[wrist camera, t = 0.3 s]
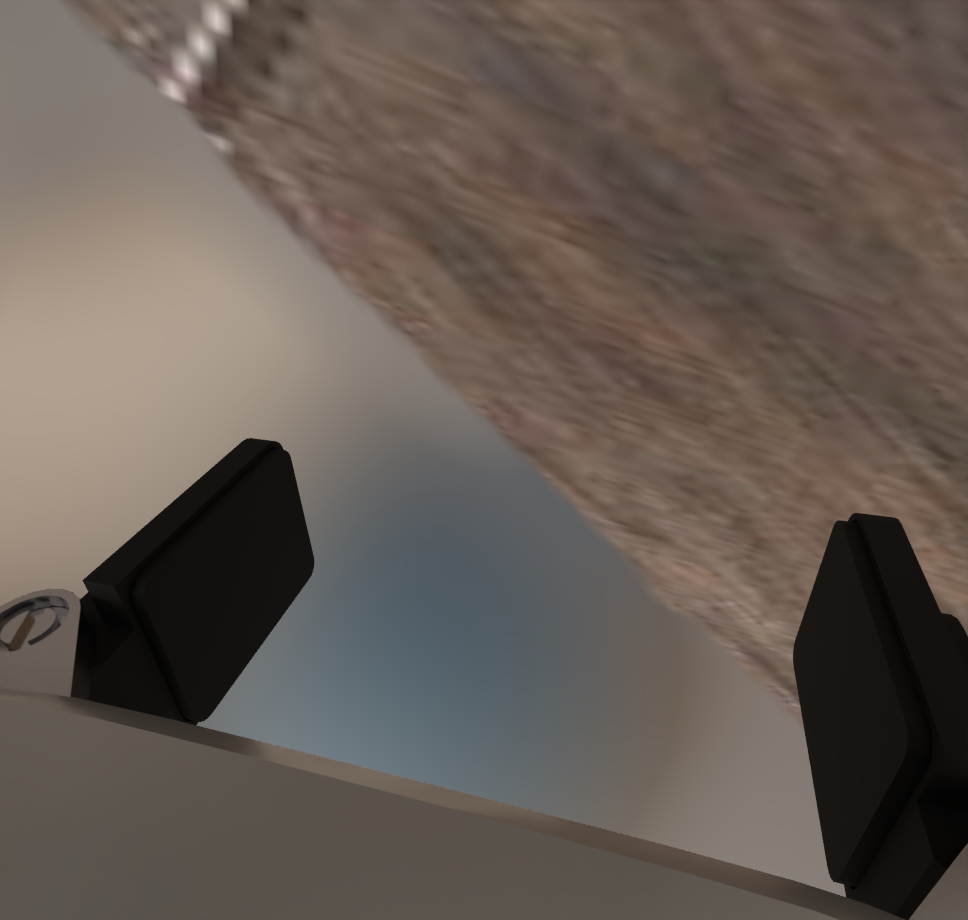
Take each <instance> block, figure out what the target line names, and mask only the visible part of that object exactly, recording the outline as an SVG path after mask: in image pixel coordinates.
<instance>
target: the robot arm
mask: <svg viewBox="0 0 968 920" xmlns="http://www.w3.org/2000/svg"><path fill="white" fill-rule="evenodd" d="M313 568H314V556H313V552H312V547H311V543H310V539H309V535H308V530H307V526H306V522H305V517H304V513H303V509H302V504H301V500H300V496H299V492H298V487H297V482H296V478H295V474H294V469H293V465H292V461H291V457H290V455H289V453H288V452H287V451H285V450H283V447H282V446H281V444H280V443H278V442H276V441H269V440H261V439H253V438H249V439H246V440H244V441H242V442H241V443H240V444H239V445H238V446H237V447H236V448H234V449H233V450H232V451H231V452H230V453H228V454H227V455H226V456H225V457H224V458H223V459H222V460H221V461H219V462H218V463H217V464H216V465H215V466H214V467H212V468H211V469H210V470H209V471H208V472H207V473H205V475H203V476H202V477H201V478H200V479H199V480H197V481H196V482H195V483H194V484H193V485H192V486H191V487H189V488H188V489H187V490H186V491H185V492H184V493H182V494H181V495H180V496H179V497H178V498H177V499H176V500H174V501H173V502H172V503H171V504H170V505H169V506H168V507H167V508H165V509H164V510H163V511H162V512H161V513H160V514H158V515H157V516H156V517H155V518H154V519H153V520H152V521H150V522H149V523H148V524H147V525H146V526H145V527H144V528H142V529H141V530H140V531H139V532H138V533H136V534H135V535H134V536H133V537H132V538H131V539H130V540H129V541H127V542H126V543H125V544H124V545H123V546H122V547H121V548H119V549H118V550H117V551H116V552H115V553H114V554H112V555H111V556H110V557H109V558H108V559H107V560H105V561H104V562H103V563H102V564H101V565H100V566H99V567H98V568H96V569H95V570H94V571H93V572H92V573H91V574H89V575H88V576H87V577H86V578H85V579H84V580H83V582H84V584H85V586H86V588H87V590H88V593H87V594H86V595H85V596H84V597H83V598H81V599H79V598H78V597H77V596H76V595H75V594H74V593H73V592H71V591H68V590H64V589H46V590H41V591H36V592H32V593H29V594H26V595H23V596H20V597H18V598H15V599H14V600H12V601H10V602H8V603H6V604H4V605H2V606H0V920H968V636H967V634H966V632H965V630H964V628H963V626H962V625H961V623H960V622H959V620H958V619H957V618H955V617H954V616H952V615H950V614H943V613H941V612H940V609H939V607H938V605H937V603H936V600H935V598H934V596H933V594H932V592H931V589H930V587H929V585H928V583H927V580H926V578H925V576H924V574H923V571H922V569H921V567H920V565H919V562H918V560H917V558H916V556H915V553H914V551H913V549H912V547H911V544H910V542H909V540H908V538H907V536H906V533H905V531H904V529H903V527H902V524H901V523H900V521H899V520H898V519H896V518H893V517H885V516H877V515H868V514H860V513H854V514H852V515H851V517H850V518H849V520H848V521H840V520H839V521H837V522H836V523H835V525H834V527H833V530H832V533H831V536H830V539H829V542H828V545H827V548H826V551H825V554H824V557H823V560H822V563H821V565H820V568H819V571H818V574H817V577H816V580H815V583H814V586H813V589H812V592H811V595H810V598H809V601H808V604H807V607H806V610H805V613H804V616H803V619H802V622H801V625H800V628H799V631H798V634H797V637H796V640H795V644H794V650H793V664H794V671H795V677H796V682H797V688H798V694H799V700H800V706H801V712H802V718H803V724H804V730H805V736H806V742H807V747H808V754H809V760H810V765H811V771H812V777H813V784H814V789H815V796H816V801H817V807H818V813H819V819H820V825H821V831H822V837H823V843H824V849H825V855H826V861H827V866H828V871H829V874H830V877H831V879H832V880H833V882H837V883H842V884H844V887H845V892H846V897H843V896H840V895H837V894H834V893H831V892H828V891H824V890H821V889H818V888H815V887H812V886H809V885H806V884H803V883H799V882H796V881H793V880H789V879H786V878H782V877H778V876H775V875H771V874H768V873H764V872H761V871H757V870H753V869H750V868H746V867H742V866H739V865H735V864H732V863H728V862H724V861H721V860H717V859H714V858H710V857H706V856H703V855H699V854H696V853H692V852H688V851H685V850H681V849H678V848H674V847H670V846H666V845H663V844H659V843H655V842H651V841H647V840H644V839H640V838H636V837H632V836H628V835H624V834H620V833H616V832H613V831H609V830H605V829H601V828H597V827H593V826H590V825H586V824H582V823H578V822H574V821H570V820H567V819H563V818H559V817H555V816H551V815H547V814H544V813H540V812H536V811H532V810H528V809H524V808H520V807H517V806H513V805H509V804H505V803H501V802H497V801H493V800H489V799H485V798H481V797H478V796H474V795H470V794H466V793H462V792H458V791H454V790H450V789H446V788H443V787H438V786H435V785H431V784H427V783H423V782H419V781H415V780H411V779H407V778H403V777H399V776H395V775H391V774H388V773H384V772H379V771H376V770H372V769H368V768H363V767H360V766H356V765H352V764H348V763H344V762H339V761H336V760H332V759H328V758H324V757H320V756H316V755H312V754H308V753H305V752H301V751H297V750H292V749H288V748H285V747H280V746H276V745H272V744H268V743H264V742H260V741H256V740H252V739H248V738H244V737H240V736H236V735H232V734H228V733H224V732H220V731H216V730H212V729H208V728H204V727H200V726H196V725H197V723H198V722H202V721H204V720H206V719H207V718H208V717H209V716H210V715H211V714H212V712H213V711H214V710H215V709H216V707H217V706H218V704H219V703H220V702H221V700H222V699H223V697H224V696H225V695H226V693H227V692H228V690H229V689H230V688H231V686H232V685H233V684H234V682H235V681H236V679H237V678H238V677H239V675H240V674H241V673H242V671H243V670H244V668H245V667H246V666H247V664H248V663H249V661H250V660H251V659H252V657H253V656H254V654H255V653H256V652H257V650H258V649H259V648H260V646H261V645H262V644H263V642H264V641H265V639H266V638H267V637H268V635H269V634H270V632H271V631H272V630H273V628H274V627H275V626H276V624H277V623H278V621H279V620H280V619H281V617H282V616H283V614H284V613H285V611H286V610H287V609H288V607H289V606H290V605H291V603H292V602H293V601H294V599H295V598H296V596H297V595H298V594H299V592H300V591H301V589H302V588H303V587H304V585H305V584H306V583H307V581H308V580H309V578H310V577H311V575H312V572H313Z"/></svg>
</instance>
